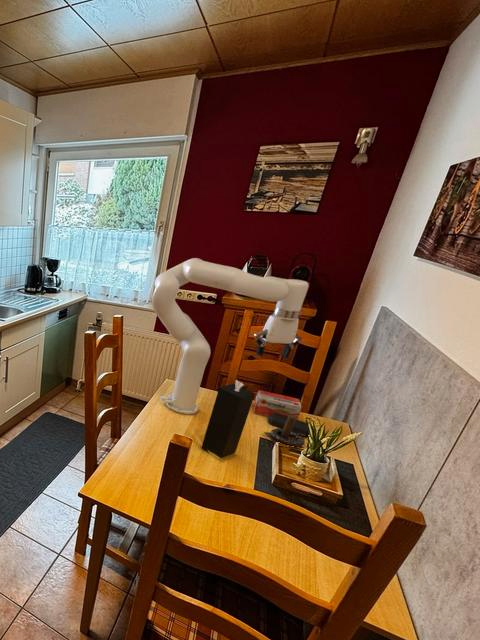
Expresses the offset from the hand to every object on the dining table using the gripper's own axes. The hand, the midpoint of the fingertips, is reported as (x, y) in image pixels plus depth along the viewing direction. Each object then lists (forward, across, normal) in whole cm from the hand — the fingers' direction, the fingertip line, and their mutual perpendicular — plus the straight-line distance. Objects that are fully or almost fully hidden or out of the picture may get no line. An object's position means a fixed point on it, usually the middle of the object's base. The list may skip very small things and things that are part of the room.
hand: (271, 356), depth 151 cm
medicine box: (+28, -12, -5) cm, 32 cm away
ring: (+26, -4, +17) cm, 31 cm away
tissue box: (+28, +25, +26) cm, 46 cm away
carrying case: (+28, -12, +6) cm, 32 cm away
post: (+28, -3, +17) cm, 33 cm away
